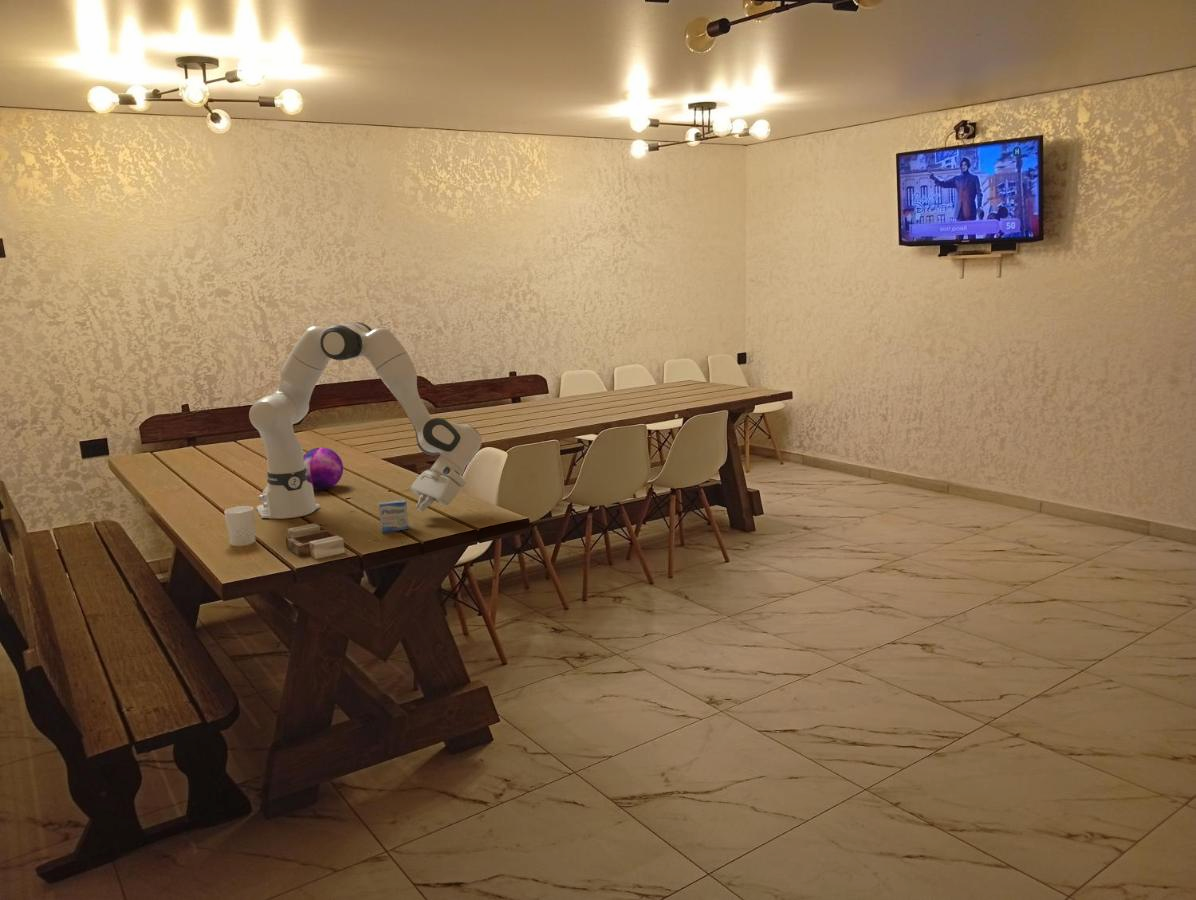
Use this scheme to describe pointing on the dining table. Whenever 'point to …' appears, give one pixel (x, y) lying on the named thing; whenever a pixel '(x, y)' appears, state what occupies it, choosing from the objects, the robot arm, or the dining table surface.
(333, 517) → the dining table surface
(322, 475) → the decorative orb
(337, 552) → the wooden tray
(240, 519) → the white cup
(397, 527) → the medicine box
